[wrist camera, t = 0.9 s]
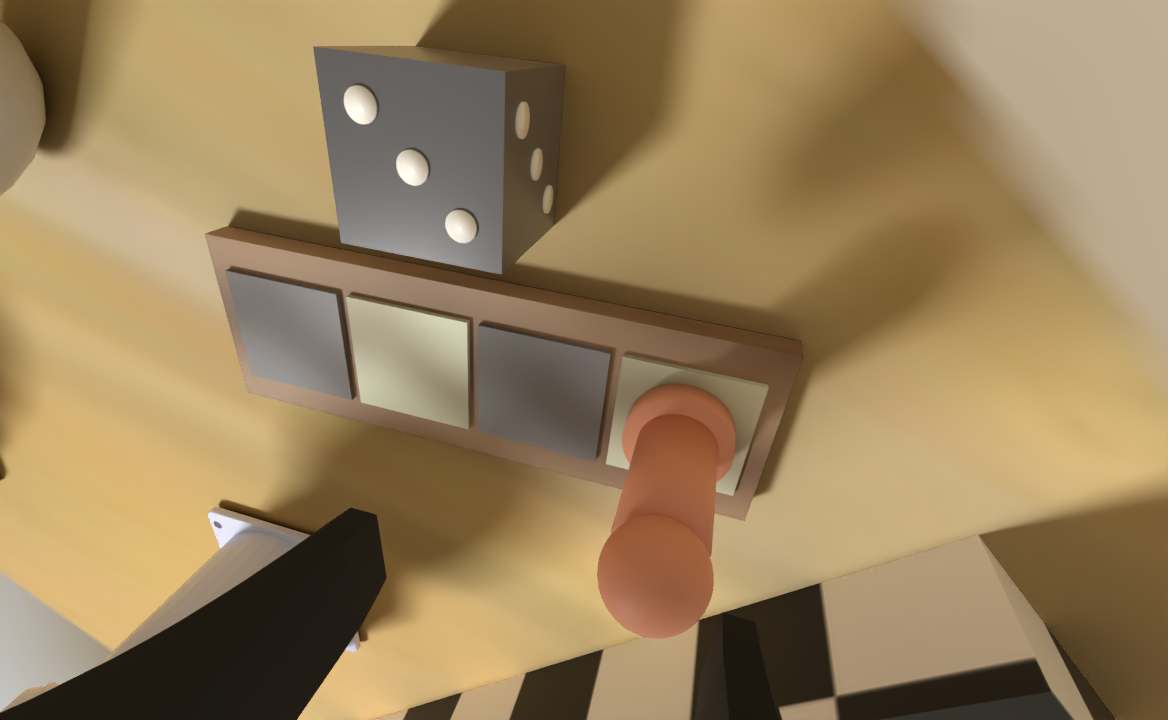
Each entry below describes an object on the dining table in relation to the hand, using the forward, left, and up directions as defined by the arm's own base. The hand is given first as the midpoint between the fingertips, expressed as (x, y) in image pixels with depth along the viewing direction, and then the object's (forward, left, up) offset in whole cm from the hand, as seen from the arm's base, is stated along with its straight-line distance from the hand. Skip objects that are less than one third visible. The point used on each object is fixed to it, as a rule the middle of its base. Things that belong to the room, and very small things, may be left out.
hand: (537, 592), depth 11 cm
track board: (-1, +5, -10) cm, 11 cm away
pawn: (-1, -2, -8) cm, 9 cm away
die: (+7, +5, -10) cm, 13 cm away
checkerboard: (-36, -15, -10) cm, 40 cm away
